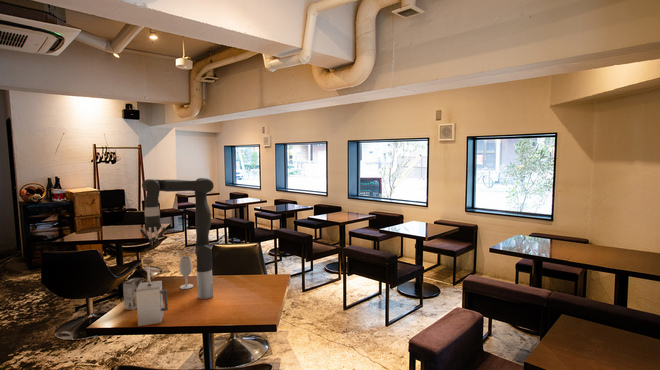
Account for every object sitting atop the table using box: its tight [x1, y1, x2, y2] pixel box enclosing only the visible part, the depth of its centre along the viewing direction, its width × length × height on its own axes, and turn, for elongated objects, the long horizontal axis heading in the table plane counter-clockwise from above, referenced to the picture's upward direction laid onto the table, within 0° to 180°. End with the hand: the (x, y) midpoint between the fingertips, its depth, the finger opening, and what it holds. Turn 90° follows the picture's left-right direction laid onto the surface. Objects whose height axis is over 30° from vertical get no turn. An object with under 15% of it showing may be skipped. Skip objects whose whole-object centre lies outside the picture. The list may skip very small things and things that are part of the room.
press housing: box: [136, 280, 169, 327], centre depth 193 cm, size 14×11×20 cm
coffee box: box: [122, 277, 144, 310], centre depth 211 cm, size 9×6×16 cm
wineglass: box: [178, 255, 194, 290], centre depth 241 cm, size 9×9×21 cm
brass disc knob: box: [142, 257, 154, 286], centre depth 191 cm, size 8×8×20 cm
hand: (154, 245), depth 200 cm, fingers closed
